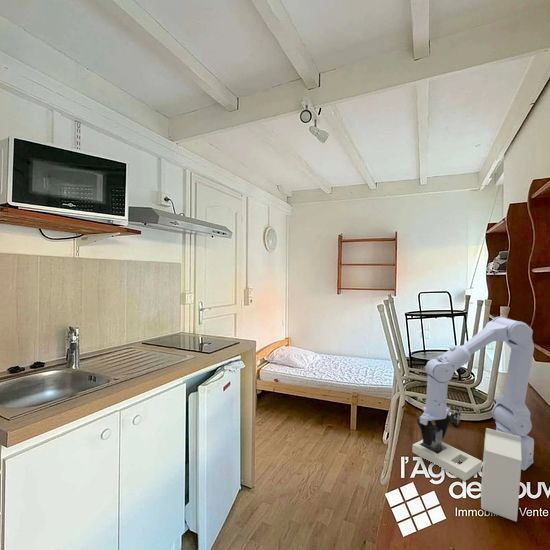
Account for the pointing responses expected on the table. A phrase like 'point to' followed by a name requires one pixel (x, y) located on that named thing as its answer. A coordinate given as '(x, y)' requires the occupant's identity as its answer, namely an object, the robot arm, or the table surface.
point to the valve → (455, 416)
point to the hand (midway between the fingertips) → (433, 440)
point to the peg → (435, 441)
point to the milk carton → (501, 474)
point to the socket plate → (450, 460)
